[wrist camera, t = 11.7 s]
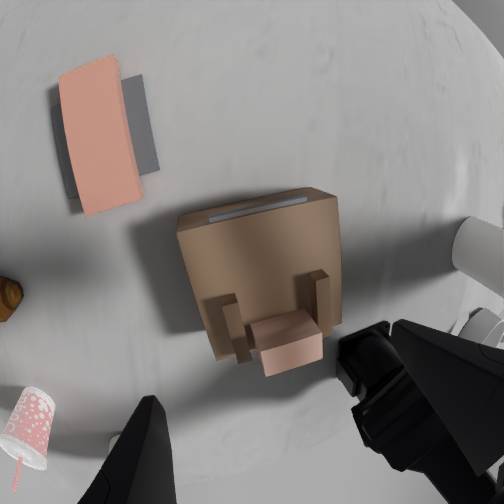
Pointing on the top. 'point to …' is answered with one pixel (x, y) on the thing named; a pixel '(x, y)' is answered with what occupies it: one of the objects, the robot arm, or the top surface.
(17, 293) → the croissant
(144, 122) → the pad
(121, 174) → the salmon pink rectangular block
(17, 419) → the beverage cup
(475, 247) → the cylindrical container
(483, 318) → the saucepan
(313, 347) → the dispenser
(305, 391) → the top surface
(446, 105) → the top surface
